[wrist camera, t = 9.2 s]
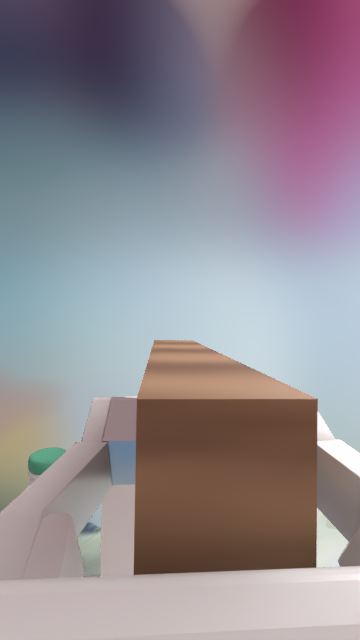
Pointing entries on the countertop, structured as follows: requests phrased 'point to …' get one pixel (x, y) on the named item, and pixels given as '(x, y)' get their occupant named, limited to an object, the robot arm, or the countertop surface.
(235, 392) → the walnut rail
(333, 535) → the countertop surface
